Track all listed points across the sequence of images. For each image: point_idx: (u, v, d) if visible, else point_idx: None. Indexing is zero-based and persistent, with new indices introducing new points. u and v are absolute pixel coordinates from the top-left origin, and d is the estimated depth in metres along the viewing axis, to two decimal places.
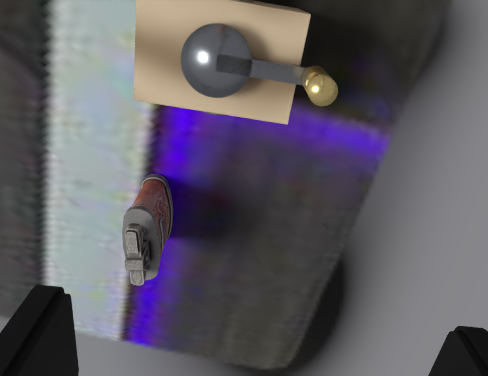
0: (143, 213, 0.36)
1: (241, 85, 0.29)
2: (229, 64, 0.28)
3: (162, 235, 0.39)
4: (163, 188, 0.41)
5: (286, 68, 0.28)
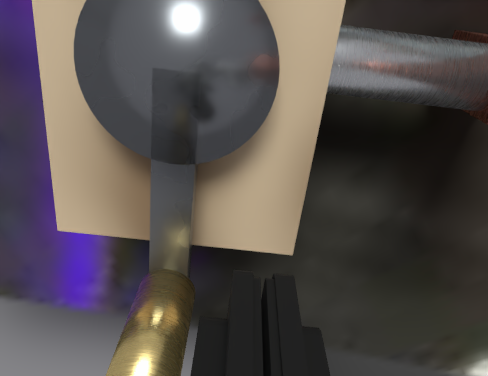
0: None
1: (124, 140, 0.11)
2: (176, 108, 0.10)
3: None
4: None
5: (182, 238, 0.12)
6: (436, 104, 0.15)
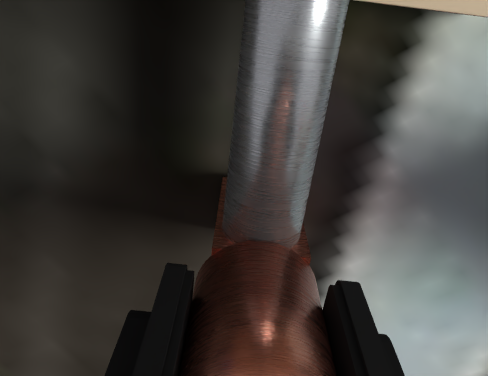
0: None
1: None
2: None
3: None
4: None
5: None
6: (232, 184, 0.11)
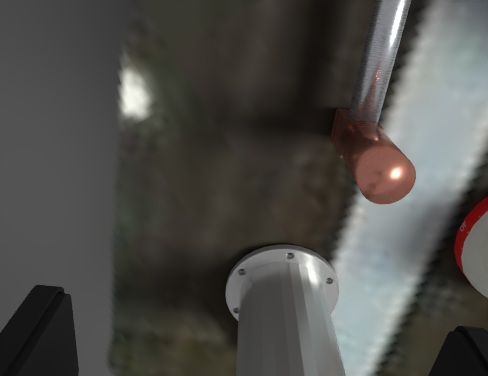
0: None
1: None
2: None
3: None
4: None
5: None
6: (356, 101, 0.31)
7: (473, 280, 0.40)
